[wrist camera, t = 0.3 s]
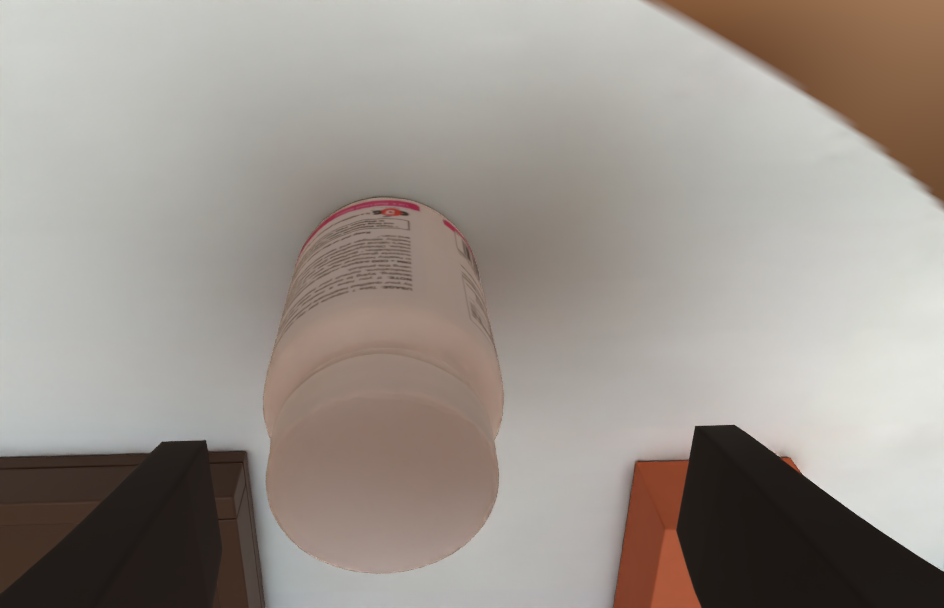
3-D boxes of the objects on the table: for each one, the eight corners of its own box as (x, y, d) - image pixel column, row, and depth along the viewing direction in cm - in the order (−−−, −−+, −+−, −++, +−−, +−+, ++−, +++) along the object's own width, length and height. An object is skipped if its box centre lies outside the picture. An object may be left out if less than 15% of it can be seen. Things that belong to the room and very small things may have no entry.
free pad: (790, 456, 25) (838, 523, 22) (743, 635, 28) (779, 711, 26) (635, 461, 24) (664, 529, 22) (607, 641, 28) (629, 720, 25)
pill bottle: (269, 317, 21) (198, 546, 14) (339, 161, 19) (302, 324, 12) (429, 379, 22) (446, 620, 15) (509, 239, 21) (573, 430, 13)
